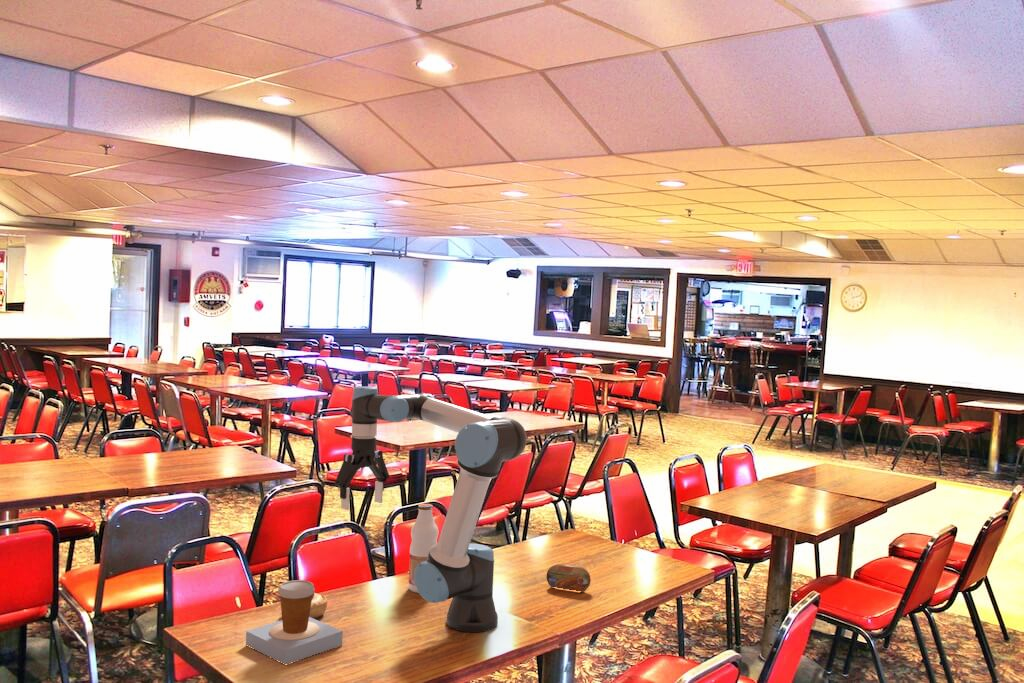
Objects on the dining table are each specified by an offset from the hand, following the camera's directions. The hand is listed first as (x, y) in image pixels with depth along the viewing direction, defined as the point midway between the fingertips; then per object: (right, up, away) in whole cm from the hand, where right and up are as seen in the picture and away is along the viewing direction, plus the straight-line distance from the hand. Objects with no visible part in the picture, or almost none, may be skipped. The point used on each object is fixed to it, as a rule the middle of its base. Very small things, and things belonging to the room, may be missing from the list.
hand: (362, 505), depth 247 cm
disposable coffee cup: (-12, -27, -31) cm, 43 cm away
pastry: (-15, -31, -8) cm, 36 cm away
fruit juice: (+17, -32, +19) cm, 40 cm away
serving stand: (-12, -31, -31) cm, 46 cm away
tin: (+65, -34, +23) cm, 77 cm away
